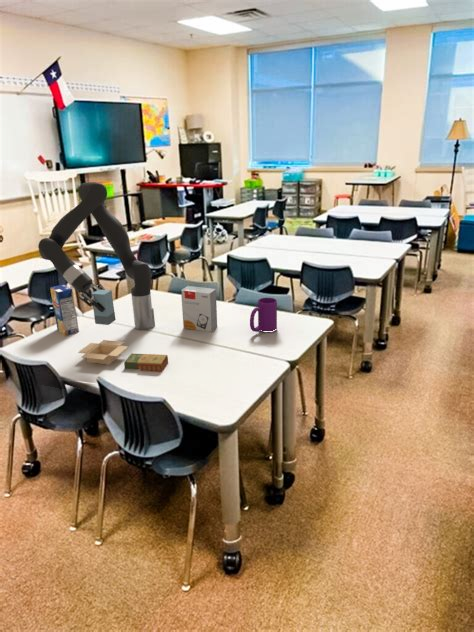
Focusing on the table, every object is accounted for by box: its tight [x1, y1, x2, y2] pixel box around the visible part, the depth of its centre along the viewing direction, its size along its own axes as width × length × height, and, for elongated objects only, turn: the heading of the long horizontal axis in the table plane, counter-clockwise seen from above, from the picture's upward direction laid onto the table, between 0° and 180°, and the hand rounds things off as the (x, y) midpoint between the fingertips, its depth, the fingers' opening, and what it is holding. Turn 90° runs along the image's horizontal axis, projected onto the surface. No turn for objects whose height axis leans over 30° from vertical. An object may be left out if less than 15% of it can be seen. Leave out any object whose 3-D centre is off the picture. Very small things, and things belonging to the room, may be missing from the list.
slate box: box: [91, 289, 116, 326], centre depth 192 cm, size 6×6×13 cm
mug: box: [249, 297, 278, 333], centre depth 223 cm, size 9×16×15 cm, turn 131°
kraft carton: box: [78, 339, 129, 365], centre depth 201 cm, size 18×18×5 cm
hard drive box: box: [180, 285, 218, 333], centre depth 229 cm, size 16×8×20 cm, turn 68°
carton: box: [124, 352, 169, 373], centre depth 194 cm, size 8×16×4 cm, turn 80°
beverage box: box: [49, 284, 80, 336], centre depth 230 cm, size 7×11×22 cm, turn 39°
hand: (107, 308), depth 192 cm, fingers closed on slate box, 5 cm apart
